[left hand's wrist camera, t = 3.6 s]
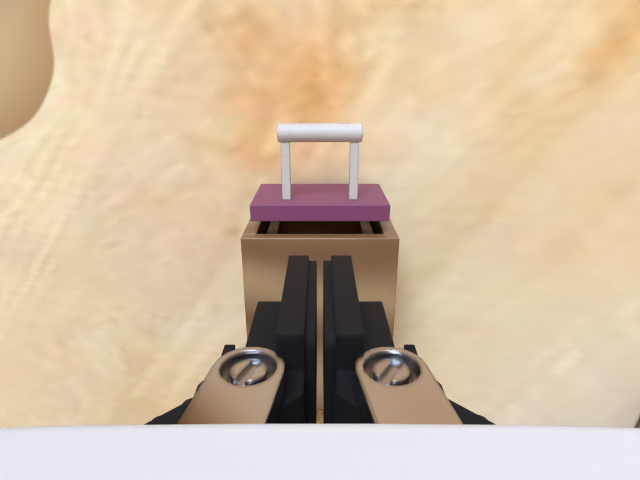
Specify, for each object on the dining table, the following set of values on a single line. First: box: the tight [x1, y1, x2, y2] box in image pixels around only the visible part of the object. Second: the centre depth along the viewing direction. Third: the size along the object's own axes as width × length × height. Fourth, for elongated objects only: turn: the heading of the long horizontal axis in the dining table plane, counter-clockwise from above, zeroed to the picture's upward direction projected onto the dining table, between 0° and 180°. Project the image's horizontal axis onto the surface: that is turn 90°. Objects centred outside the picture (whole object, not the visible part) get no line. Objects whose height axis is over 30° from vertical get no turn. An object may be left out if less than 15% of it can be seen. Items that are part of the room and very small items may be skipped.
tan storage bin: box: [241, 218, 399, 410], centre depth 38 cm, size 15×11×8 cm
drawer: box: [250, 124, 390, 234], centre depth 36 cm, size 19×10×6 cm, turn 0°
